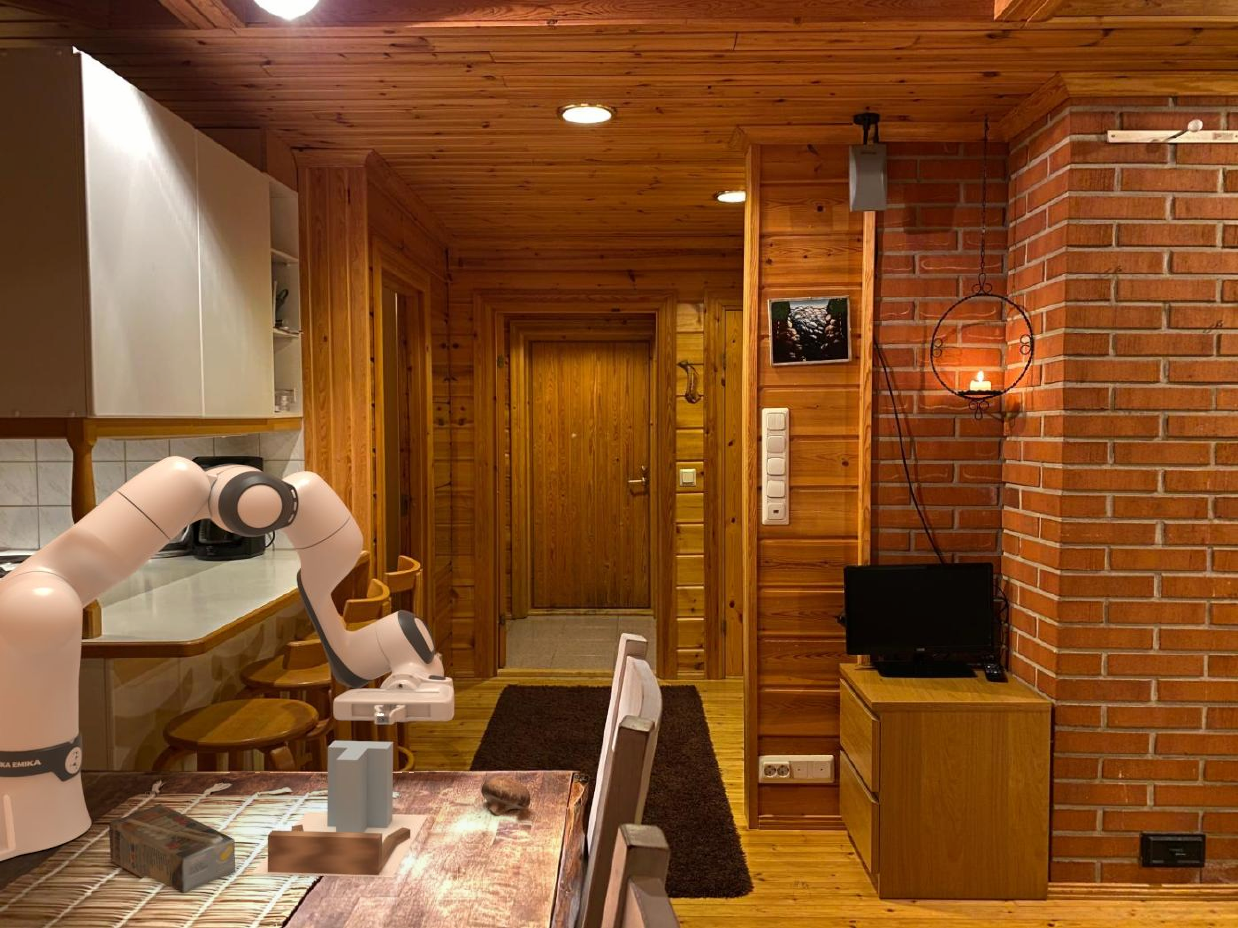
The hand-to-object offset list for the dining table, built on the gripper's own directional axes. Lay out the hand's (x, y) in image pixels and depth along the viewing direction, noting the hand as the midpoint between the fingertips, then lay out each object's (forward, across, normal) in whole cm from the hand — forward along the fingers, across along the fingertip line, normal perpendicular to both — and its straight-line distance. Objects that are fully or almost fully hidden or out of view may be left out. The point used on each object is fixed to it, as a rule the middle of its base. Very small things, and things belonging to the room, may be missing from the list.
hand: (383, 719), depth 148 cm
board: (+17, 0, +13) cm, 22 cm away
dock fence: (+21, 0, +12) cm, 25 cm away
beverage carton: (+25, -22, +13) cm, 36 cm away
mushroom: (+4, +20, +14) cm, 25 cm away
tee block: (+13, 0, +12) cm, 18 cm away
